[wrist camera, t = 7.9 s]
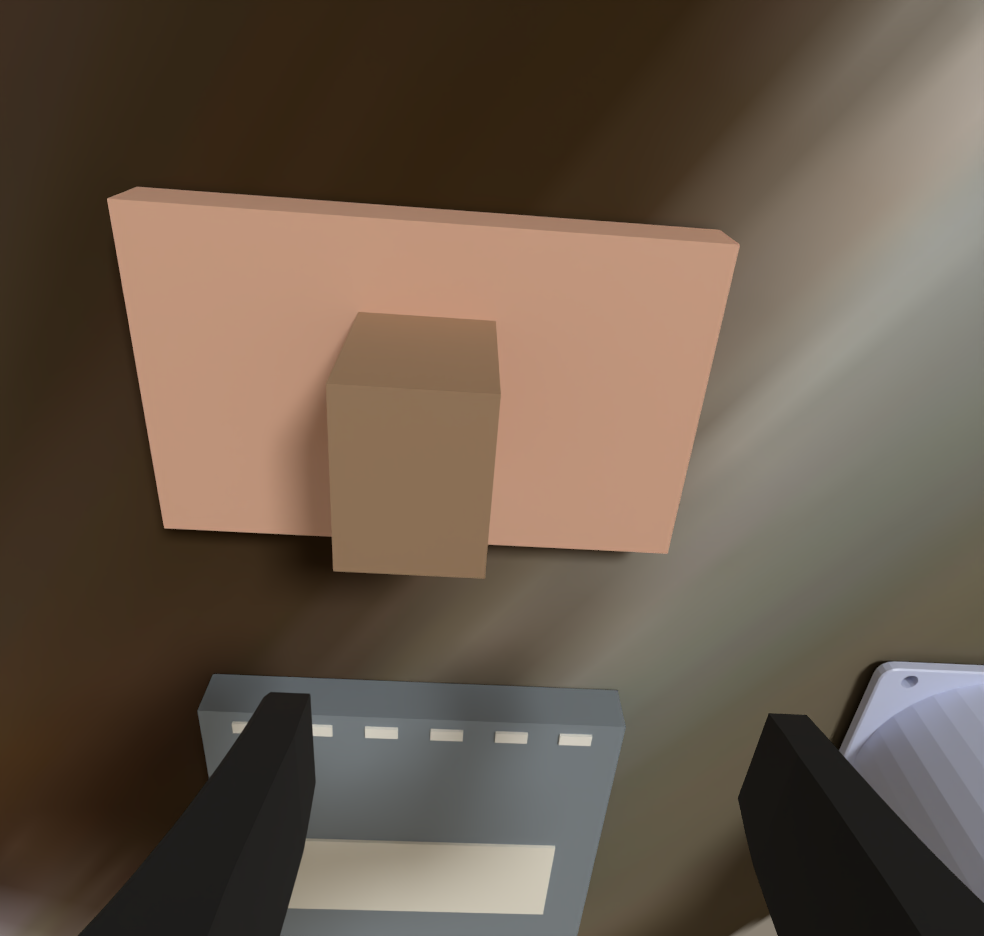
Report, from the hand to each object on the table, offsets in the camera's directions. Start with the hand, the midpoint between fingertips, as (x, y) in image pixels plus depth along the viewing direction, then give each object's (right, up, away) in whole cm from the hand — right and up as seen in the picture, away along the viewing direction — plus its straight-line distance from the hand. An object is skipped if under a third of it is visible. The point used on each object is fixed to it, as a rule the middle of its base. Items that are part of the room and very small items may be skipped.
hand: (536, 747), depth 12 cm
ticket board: (-3, -8, +15) cm, 17 cm away
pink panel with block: (-2, +7, +7) cm, 10 cm away
